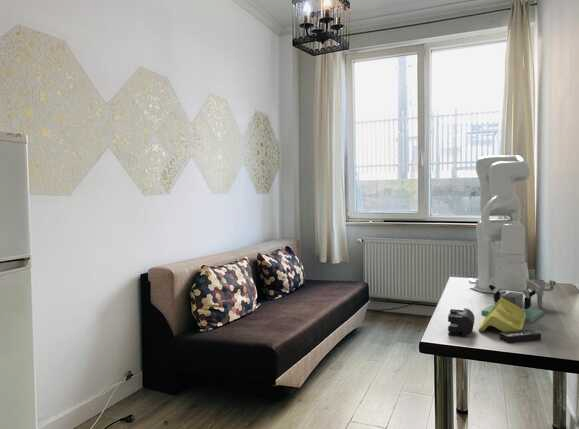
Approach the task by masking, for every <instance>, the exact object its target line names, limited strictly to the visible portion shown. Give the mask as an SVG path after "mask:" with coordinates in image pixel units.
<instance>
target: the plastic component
mask: <svg viewBox="0 0 579 429" xmlns="http://www.w3.org/2000/svg"><path fill="white" fill-rule="evenodd" d="M494 304H495V303H494ZM525 317H526V314H525V312H524V311H523V310H522V309H521V308H519V307H518V306H516V305H515V304H513V303H511V302H509V301H507V300H505V299H503V297H502V298H500V299H499V300H498V302H497V303H496V304H495V305H494V307H493V308H492V309H491V311H490V312H489V314H488V315H485V318H484V319H483V321H482V323H481V325H480V327H479V328H478V331H479V332H484V331H485V330H486V329H487V328H488V327H489V326H490V327H491V326H492V327H494V328H496V329H497V330H499V331H500V332H509V331H521V330H523V327H524V324H525V322H524V321H525Z"/></svg>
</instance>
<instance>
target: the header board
mask: <svg viewBox="0 0 579 429" xmlns="http://www.w3.org/2000/svg"><path fill="white" fill-rule="evenodd" d="M494 305H495V303H493V304H491V305H489V306H487V307H485V308H484V309H480V310H481V315H482V316H487V315H488V314H489V312H490V311H491V309H492V308H493V307H494ZM522 310H523V311H524V312H525V314H526V317H525V321H524V323H528V324H532V323H534V322H535V321H536V320H537V319H539V318H540V317H541V316H543V314H544V310H542V309H536V308H531V307H529V308H528V309H525V308H524V307H523V309H522Z"/></svg>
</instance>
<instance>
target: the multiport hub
mask: <svg viewBox="0 0 579 429" xmlns="http://www.w3.org/2000/svg"><path fill="white" fill-rule="evenodd" d="M499 340H501V341H503V342H505V343H508V344H518V343H529V342H538V341H539V342H540V341H542V333H541V332H538V331H536V330H533V329H522V330H521V331H509V332H503V331H500V332H499Z"/></svg>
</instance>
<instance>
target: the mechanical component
mask: <svg viewBox="0 0 579 429" xmlns="http://www.w3.org/2000/svg"><path fill="white" fill-rule="evenodd" d="M529 280H531V281H532V282H534V283H536V284H537V285H539V286H540V288H539V290H538V291H537V293H536V294H535V295H537V307H540V308H542V307H543V296H544V295H545V294H544V292H552V291H554V289H555V286H556V285H557V284H556V280H551V279H550V280H549V281H548V283H546V282H545V280H544V279H533V278H531V279H530V278H529ZM545 287H548V288H545ZM533 289H534V288H533V287H532V286H531V285H529V289H528V290H529V291H531V292H532V291H533Z"/></svg>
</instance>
